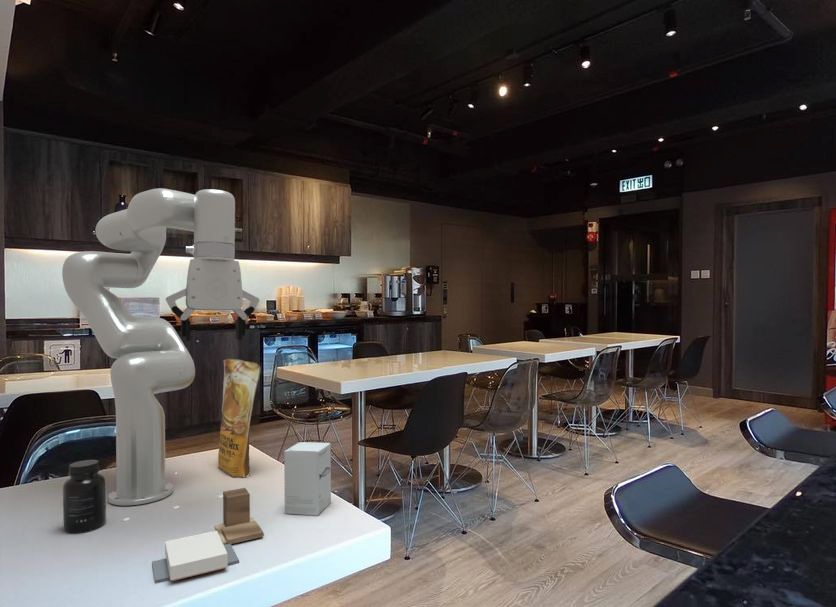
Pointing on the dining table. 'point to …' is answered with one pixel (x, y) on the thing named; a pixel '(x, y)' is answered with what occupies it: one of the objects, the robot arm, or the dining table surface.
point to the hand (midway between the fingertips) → (213, 340)
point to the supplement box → (307, 478)
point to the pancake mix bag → (237, 415)
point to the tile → (195, 555)
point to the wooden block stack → (238, 517)
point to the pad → (219, 530)
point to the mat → (162, 569)
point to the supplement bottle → (84, 497)
